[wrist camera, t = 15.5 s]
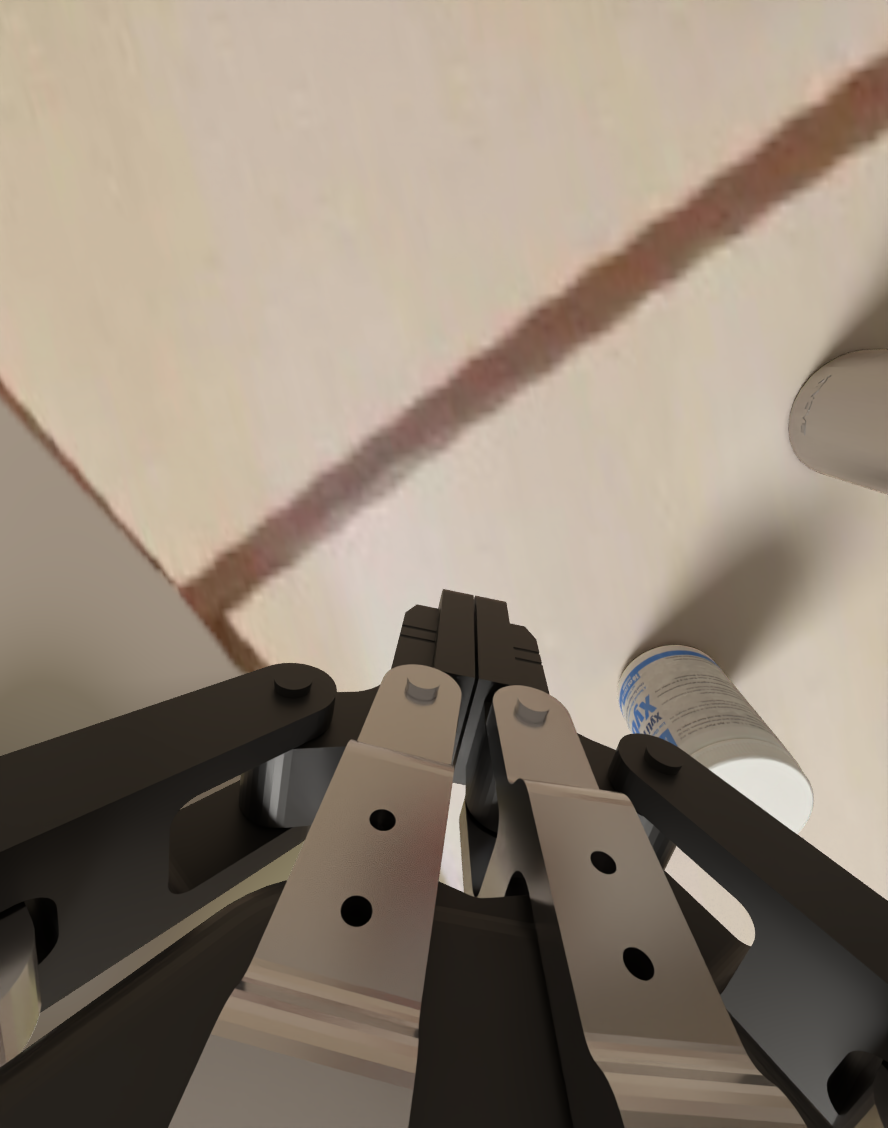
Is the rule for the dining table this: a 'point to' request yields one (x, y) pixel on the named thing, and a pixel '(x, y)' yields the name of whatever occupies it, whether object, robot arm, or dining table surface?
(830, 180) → the dining table surface
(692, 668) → the supplement tub
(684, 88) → the dining table surface
